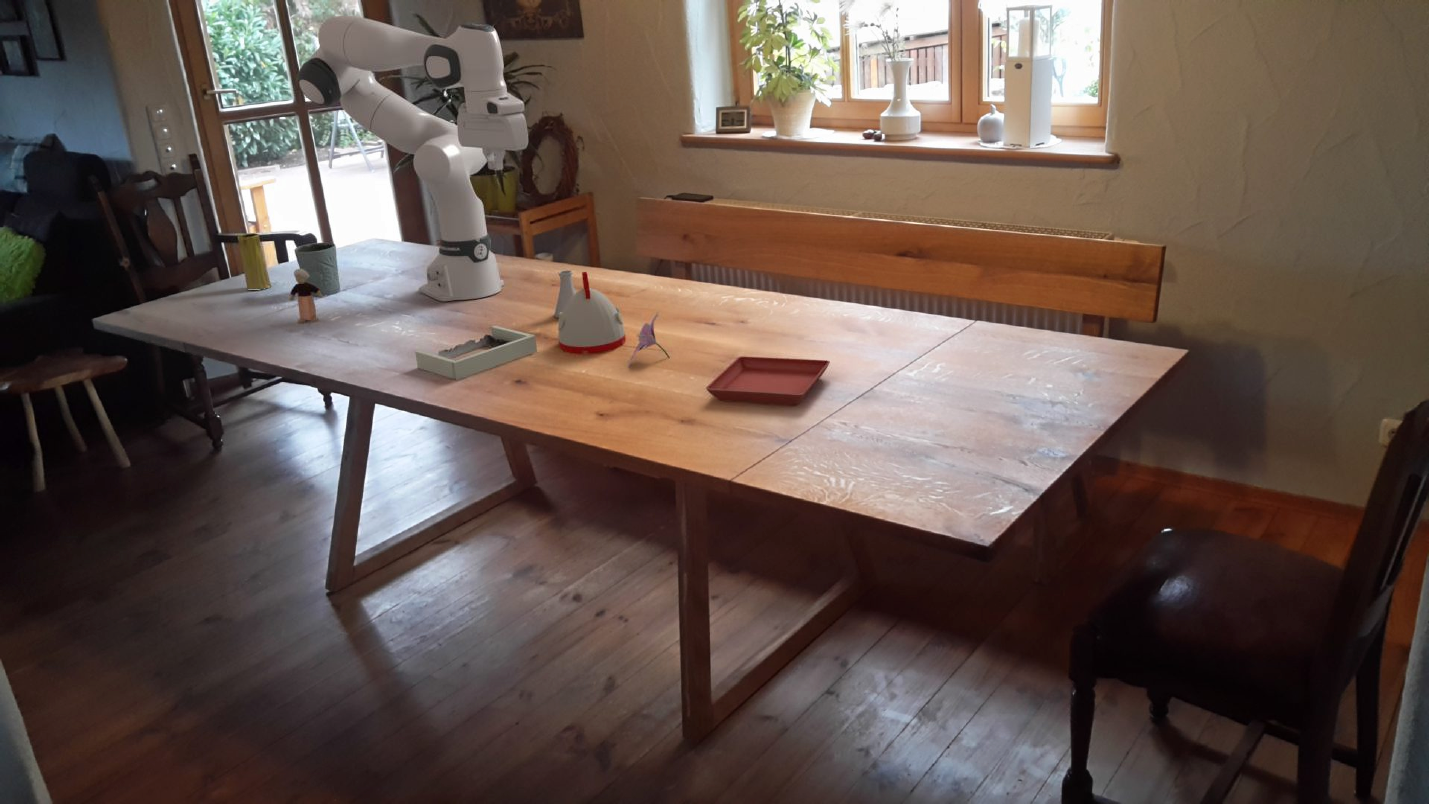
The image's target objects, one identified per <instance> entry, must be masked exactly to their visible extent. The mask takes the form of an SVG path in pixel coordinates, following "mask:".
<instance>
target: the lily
mask: <svg viewBox="0 0 1429 804" xmlns="http://www.w3.org/2000/svg"><path fill="white" fill-rule="evenodd" d="M659 312H660V310H658V311H657V312H656V314H655V315H654V317H653V318H652V320H651V322H650V323H649V322H646V323H644V324H643V326H642V327H641V329H640V331H639V333H637V335H636V336H637V337H638V342H639V343H638V344H637V346H636V347H635V349H634V351H633V353H632V355H631V356H630V358H629V361H628V365H627V367H629V366H630V364H631V362H632V360H633V358H634V357H635V355H636V353H637V352H638V351H642V350H644V349H646V348H648V347H651V346H654V345H657V346H658V348H660V349H661V350H662V351H663V353H664V354H665V355H666V356H667V358H670V356H669V353H667V351H666V350H665V348H664V347H662V346H661V344H659V343H658V342H657V340H656V336H655V335H656V334H655V329H654V327H655V326H654V324H655V321H657V318H658V317H659Z"/></svg>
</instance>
